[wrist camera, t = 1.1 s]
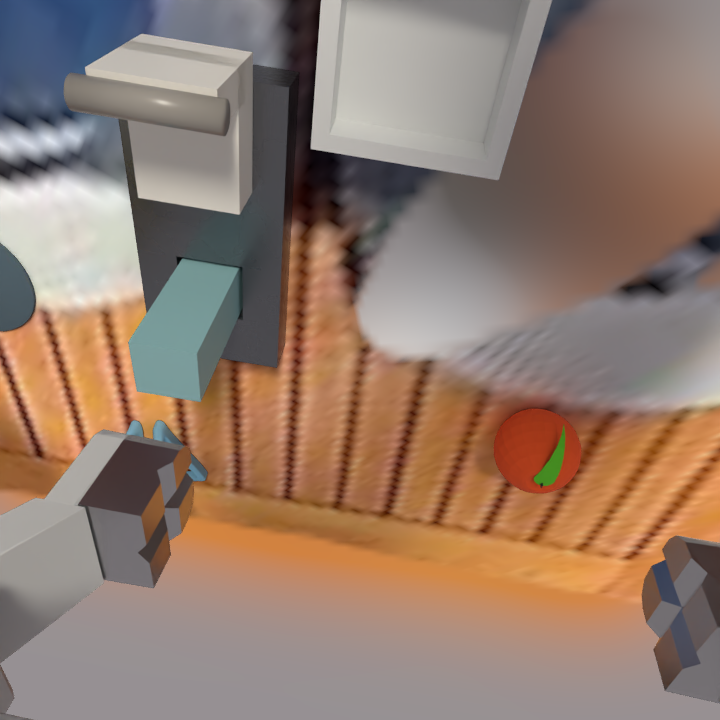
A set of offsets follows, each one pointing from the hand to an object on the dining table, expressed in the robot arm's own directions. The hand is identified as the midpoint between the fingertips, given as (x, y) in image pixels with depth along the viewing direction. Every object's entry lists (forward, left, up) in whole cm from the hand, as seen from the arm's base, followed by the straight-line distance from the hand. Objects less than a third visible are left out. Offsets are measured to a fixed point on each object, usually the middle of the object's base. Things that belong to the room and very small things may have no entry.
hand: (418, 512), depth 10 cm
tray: (0, -1, -31) cm, 31 cm away
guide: (+13, -13, -31) cm, 36 cm away
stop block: (+17, -13, -31) cm, 37 cm away
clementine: (+27, +14, -31) cm, 43 cm away
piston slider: (+5, -13, -28) cm, 31 cm away
